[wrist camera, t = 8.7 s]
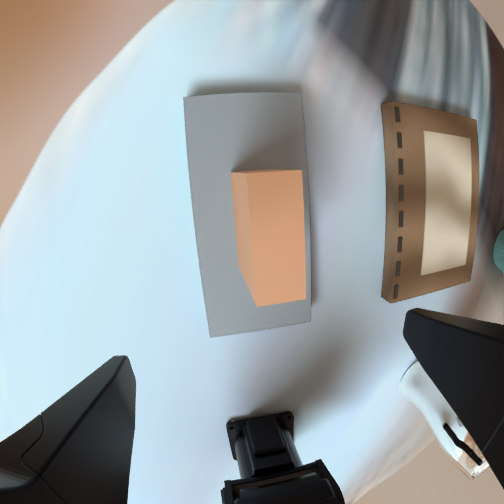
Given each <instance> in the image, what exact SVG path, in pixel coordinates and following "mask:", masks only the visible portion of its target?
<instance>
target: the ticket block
mask: <svg viewBox="0 0 504 504" xmlns="http://www.w3.org/2000/svg"><path fill="white" fill-rule="evenodd" d="M381 111H382V121H383V134H384V149H385V171H386V232H385V254H384V270H383V282H382V293H381V297H382V298H384V299H385V300H386V301H388V302H389V303H390V304H391V303H395V302H399V301H402V300H406V299H410V298H414V297H417V296H421V295H425V294H428V293H432V292H435V291H438V290H442V289H445V288H449V287H452V286H455V285H458V284H462V283H465V282H468V281H470V279H471V273H472V267H473V260H474V252H475V244H476V235H477V223H478V207H479V148H478V133H477V121H476V120H475V119H471V118H468V117H464V116H460V115H456V114H452V113H448V112H444V111H440V110H435V109H431V108H426V107H421V106H416V105H411V104H405V103H399V102H393V101H391V102H387V103H383V104H381Z"/></svg>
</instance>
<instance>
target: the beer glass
mask: <svg viewBox="0 0 504 504" xmlns="http://www.w3.org/2000/svg"><path fill="white" fill-rule="evenodd" d="M399 393H400V395H401V396H402V397H403V398H405V399H406V400H408V401H409V402H410V403H412V404H413V405H414V406H415V407H416V408H417V409H418V410H419V411H420V412H421V414H422V415H423V417H424V419H425V420H426V422H427V424H428V426H429V428H430V430H431V432H432V434H433V435H434V437H435V439H436V441H437V443H438V444H439V446H440V447H441V449H442V450H443V452H444V453H445V454H446V456H447V457H448V458H449V459H450V460H451V461H452V462H453V464H454V465H455V466H456V467H457V468H458V469H459V470H460V471H461V472H463V473H464V474H465V475H466V476H467V477H468V479H469V480H473V479H475V478H476V477H478V476H479V475H481V474H482V473H483V472H484V471H485V470H487V469H488V468H489V467H490V466H489V464H488V463H487V461H486V459H485V458H484V456H483V455H482V452H481V451H480V450H479V448H478V446H477V445H476V443H475V442H474V440H473V439H472V437H471V436H470V434H469V433H468V431H467V430H466V428H465V427H464V425H463V424H462V423H461V421H460V420H459V418H458V417H457V415H456V414H455V412H454V411H453V410H452V408H451V407H450V405H449V404H448V402H447V401H446V400H445V398H444V397H443V395H442V394H441V393H440V391H439V390H438V389H437V387H436V386H435V384H434V383H433V382H432V380H431V379H430V378H429V376H428V375H427V374H426V372H425V371H424V369H423V368H422V366H421V365H420V363H419V361H418V360H417V361H416V362H415V363H414V364H413V365H411V366H410V368H409V369H408V370H407V371H406V372H405V374H404V375H403V377H402V379H401V381H400V384H399Z"/></svg>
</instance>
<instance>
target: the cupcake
mask: <svg viewBox="0 0 504 504" xmlns="http://www.w3.org/2000/svg"><path fill="white" fill-rule="evenodd" d="M493 260H494V263H495V265H496V266H497V267H498V268H499V269H500V270H501V271H502V272H503V273H504V229H503V230H502V231H501V232H500V233H499V234H498V236H497V238H496V241H495V244H494V249H493Z"/></svg>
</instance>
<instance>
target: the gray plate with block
mask: <svg viewBox="0 0 504 504" xmlns="http://www.w3.org/2000/svg"><path fill="white" fill-rule="evenodd" d="M183 100H184V116H185V131H186V144H187V157H188V168H189V179H190V189H191V199H192V209H193V218H194V226H195V235H196V243H197V251H198V259H199V266H200V274H201V281H202V288H203V295H204V301H205V308H206V314H207V321H208V327H209V333H210V338H211V337H219V336H226V335H233V334H240V333H247V332H253V331H259V330H265V329H271V328H277V327H283V326H289V325H294V324H300V323H305V322H310V321H311V255H310V217H309V193H308V174H307V157H306V143H305V130H304V117H303V106H302V96H301V93H295V92H250V93H227V94H212V95H200V96H189V97H183Z"/></svg>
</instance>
